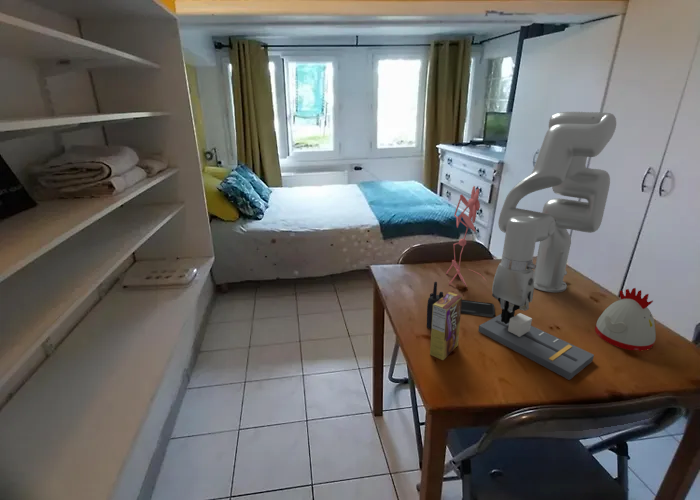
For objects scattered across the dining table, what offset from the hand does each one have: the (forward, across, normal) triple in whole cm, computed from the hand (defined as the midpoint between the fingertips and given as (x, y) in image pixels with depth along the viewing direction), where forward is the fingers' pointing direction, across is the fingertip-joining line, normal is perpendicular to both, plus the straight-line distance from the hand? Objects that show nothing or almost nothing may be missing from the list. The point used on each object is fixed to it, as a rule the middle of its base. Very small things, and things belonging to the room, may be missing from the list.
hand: (506, 321), depth 111 cm
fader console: (+4, -8, 0) cm, 9 cm away
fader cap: (+1, -4, 0) cm, 4 cm away
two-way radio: (+4, +15, +14) cm, 21 cm away
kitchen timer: (+4, -21, -25) cm, 33 cm away
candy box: (+4, +4, +21) cm, 22 cm away
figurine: (+4, +29, -19) cm, 35 cm away
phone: (+4, +15, -3) cm, 16 cm away
